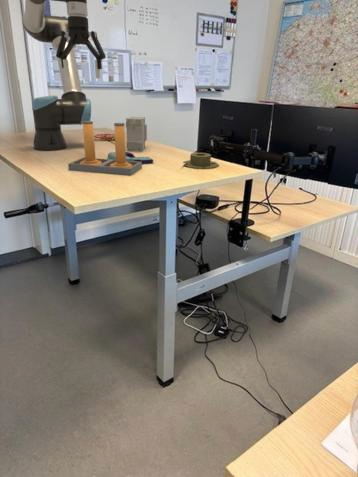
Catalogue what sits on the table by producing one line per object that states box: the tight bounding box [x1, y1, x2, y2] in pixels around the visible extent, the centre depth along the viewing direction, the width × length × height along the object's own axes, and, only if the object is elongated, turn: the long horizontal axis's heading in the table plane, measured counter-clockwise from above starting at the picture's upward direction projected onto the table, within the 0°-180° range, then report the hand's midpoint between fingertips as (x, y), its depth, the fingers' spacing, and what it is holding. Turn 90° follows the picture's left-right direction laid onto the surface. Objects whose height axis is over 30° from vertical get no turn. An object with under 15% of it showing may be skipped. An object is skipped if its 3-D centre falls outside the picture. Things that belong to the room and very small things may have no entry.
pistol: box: [106, 151, 154, 165], centre depth 146 cm, size 4×16×15 cm
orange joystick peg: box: [80, 120, 102, 165], centre depth 130 cm, size 8×8×17 cm
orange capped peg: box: [110, 122, 132, 168], centre depth 128 cm, size 8×8×17 cm
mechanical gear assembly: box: [94, 133, 115, 145], centre depth 196 cm, size 30×4×15 cm
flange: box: [182, 152, 219, 170], centre depth 148 cm, size 5×15×15 cm
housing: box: [67, 156, 143, 176], centre depth 132 cm, size 24×12×4 cm, turn 77°
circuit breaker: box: [125, 116, 148, 153], centre depth 174 cm, size 8×14×15 cm, turn 174°
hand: (82, 78), depth 144 cm, fingers open, 13 cm apart
